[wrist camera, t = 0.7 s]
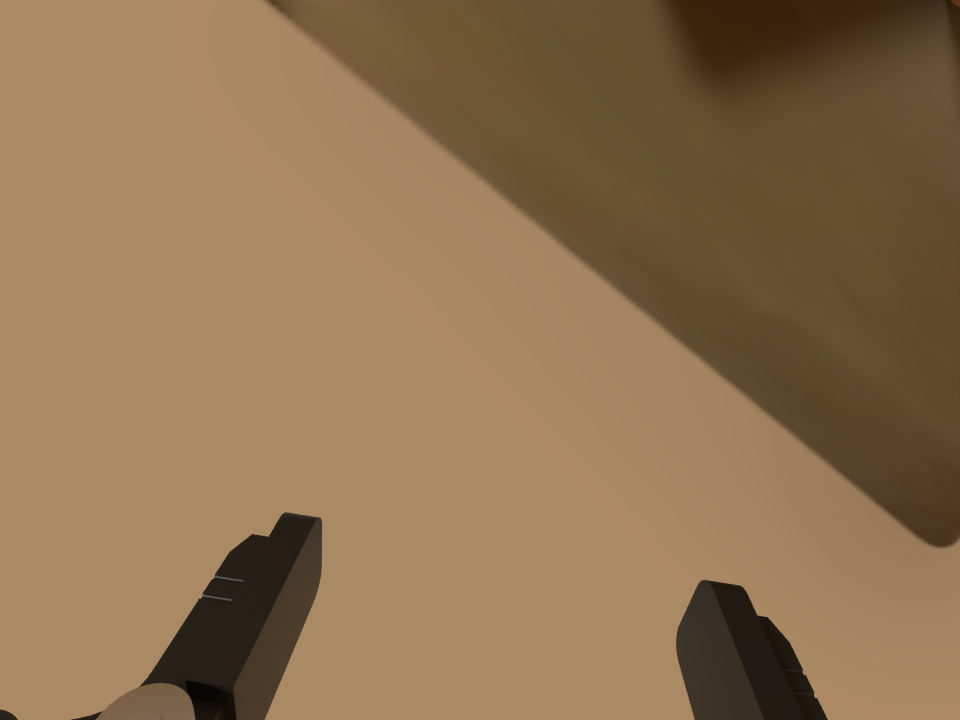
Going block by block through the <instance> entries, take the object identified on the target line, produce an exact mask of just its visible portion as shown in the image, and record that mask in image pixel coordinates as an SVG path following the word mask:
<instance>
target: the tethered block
mask: <svg viewBox="0 0 960 720" xmlns="http://www.w3.org/2000/svg"><path fill="white" fill-rule="evenodd" d="M950 1H951V2H952V3H953V4H954V5H956V6H957V7H960V0H950Z"/></svg>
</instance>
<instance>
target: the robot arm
mask: <svg viewBox="0 0 960 720" xmlns="http://www.w3.org/2000/svg"><path fill="white" fill-rule="evenodd" d="M321 569H322V521H321V518H318V517H312V516H306V515H299V514H293V513H287V512H285V513H283V514H282V516H281V517H280V518H279V520H278V522H277V523H276V525H275V527H274V529H273V530H272V532H271V534H270V535H269V537H266V536H260V535H254V534H252V535H251V536H249V537H248V538H247V539H246V540H244V541H243V542H242V543H240V544H239V545H238V546H237V547H236V548H234V549H233V550H232V551H230V552H229V554H228V555H227V557H226V558H225V560H224V561H223V563H222V565H221V566H220V568H219V569H218V571H217V573H216V574H215V577H214V579H212V580H211V582H210V583H209V585H208V586H207V588H206V589H205V591H204V592H203V595H202V598H201V599H199V600H198V602H197V603H196V605H195V606H194V608H193V609H192V611H191V612H190V614H189V615H188V617H187V619H186V620H185V622H184V623H183V625H182V626H181V628H180V629H179V631H178V633H177V634H176V635H175V637H174V639H173V640H172V642H171V643H170V645H169V646H168V648H167V649H166V651H165V652H164V654H163V656H162V657H161V659H160V660H159V662H158V663H157V665H156V666H155V668H154V669H153V671H152V672H151V674H150V675H149V676H148V678H147V679H146V680H145V681H144V683H142V684H141V686H140V687H139V688H136V689H134V690H132V691H130V692H128V693H126V694H124V695H123V696H121V697H119V698H118V699H117V700H115V701H114V702H113V703H111V704H110V705H109V706H108V707H107V708H106V709H105V710H104V711H102V712H99V713H96V714H93V715H91V716H86V717H82V718H78V719H72V720H265V717H266V715H267V713H268V710H269V708H270V705H271V703H272V700H273V698H274V696H275V693H276V691H277V688H278V686H279V684H280V681H281V679H282V676H283V674H284V672H285V669H286V667H287V665H288V662H289V660H290V657H291V655H292V652H293V650H294V648H295V645H296V643H297V640H298V638H299V636H300V633H301V631H302V628H303V626H304V624H305V621H306V619H307V616H308V614H309V611H310V609H311V607H312V604H313V602H314V599H315V597H316V594H317V590H318V587H319V582H320V577H321ZM676 649H677V656H678V661H679V665H680V668H681V672H682V675H683V679H684V683H685V686H686V690H687V693H688V697H689V701H690V704H691V708H692V711H693V715H694V718H695V720H828V719H827V717H826V715H825V713H824V711H823V709H822V707H821V705H820V703H819V701H818V699H817V698H815V697H814V691H813V689H812V687H811V685H810V683H809V681H808V679H807V677H806V675H803V669H802V667H801V665H800V663H799V661H798V659H797V657H796V655H795V653H794V650H793V648H792V646H791V644H790V643H789V641H788V640H787V639H786V638H785V637H784V635H783V634H782V633H781V632H780V631H779V630H778V629H777V627H776V626H775V625H774V624H773V623H772V622H771V621H770V620H769V618H768V617H762V616H757V614H756V612H755V610H754V608H753V605H752V603H751V601H750V599H749V596H748V594H747V592H746V591H745V590H744V588H743V587H741V586H739V585H733V584H727V583H720V582H714V581H708V580H702V581H701V582H700V583H699V584H698V586H697V588H696V590H695V592H694V594H693V597H692V599H691V601H690V603H689V605H688V607H687V610H686V612H685V614H684V616H683V618H682V621H681V623H680V625H679V628H678V631H677V639H676ZM0 720H17V718H16V717H15V716H14V715H13V714H11V713H9V712H7V711H4V710H0Z"/></svg>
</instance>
